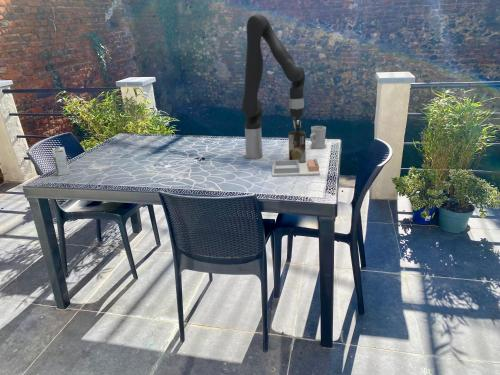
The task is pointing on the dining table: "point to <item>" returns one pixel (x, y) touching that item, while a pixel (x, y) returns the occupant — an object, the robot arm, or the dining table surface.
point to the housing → (291, 169)
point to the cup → (318, 137)
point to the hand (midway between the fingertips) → (297, 136)
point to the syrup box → (60, 161)
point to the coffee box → (297, 147)
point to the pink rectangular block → (312, 165)
